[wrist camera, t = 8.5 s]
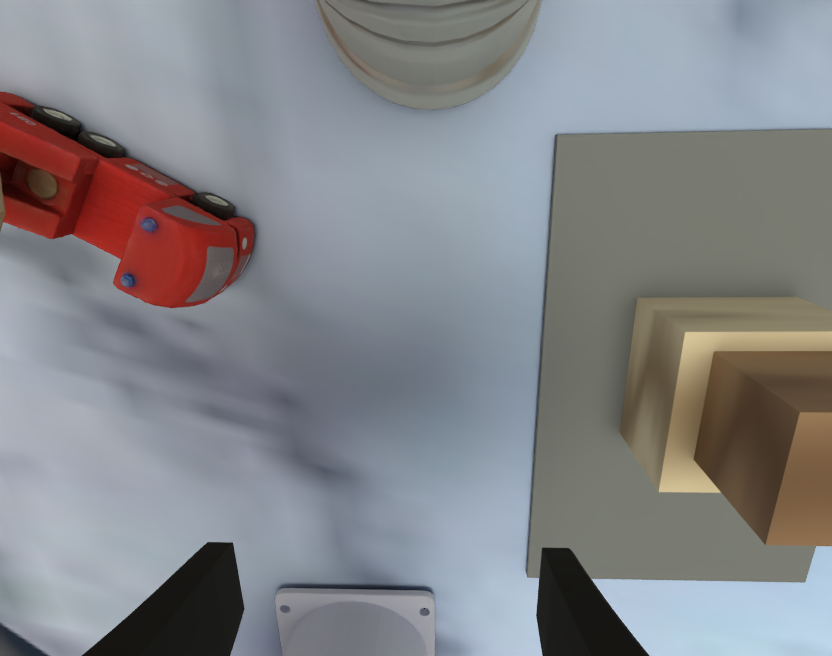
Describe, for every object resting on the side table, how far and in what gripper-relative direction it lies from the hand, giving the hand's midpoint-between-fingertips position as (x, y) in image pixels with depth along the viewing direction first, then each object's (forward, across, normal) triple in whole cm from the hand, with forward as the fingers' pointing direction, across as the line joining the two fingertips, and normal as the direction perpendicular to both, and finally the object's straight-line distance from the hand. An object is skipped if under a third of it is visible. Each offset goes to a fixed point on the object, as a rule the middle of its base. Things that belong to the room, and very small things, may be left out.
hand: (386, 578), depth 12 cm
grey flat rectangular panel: (+10, -12, 0) cm, 16 cm away
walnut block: (+6, -12, -1) cm, 14 cm away
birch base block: (+10, -12, -1) cm, 16 cm away
